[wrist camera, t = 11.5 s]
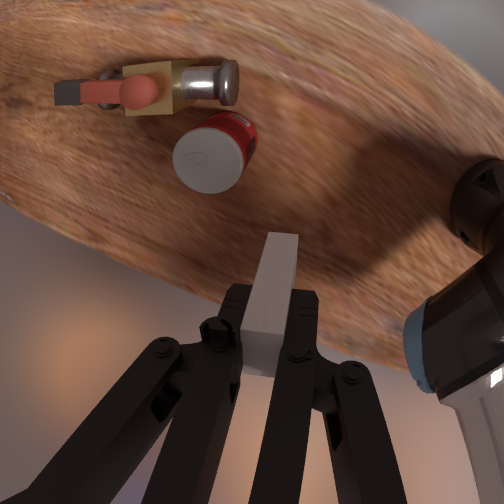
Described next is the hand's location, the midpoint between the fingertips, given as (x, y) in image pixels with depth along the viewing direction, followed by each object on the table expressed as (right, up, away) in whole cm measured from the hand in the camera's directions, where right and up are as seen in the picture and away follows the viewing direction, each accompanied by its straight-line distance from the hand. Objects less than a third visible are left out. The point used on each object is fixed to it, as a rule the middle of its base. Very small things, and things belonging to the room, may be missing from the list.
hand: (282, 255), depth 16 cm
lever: (-19, +19, +15) cm, 31 cm away
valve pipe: (-12, +23, +22) cm, 34 cm away
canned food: (-5, +16, +25) cm, 30 cm away
